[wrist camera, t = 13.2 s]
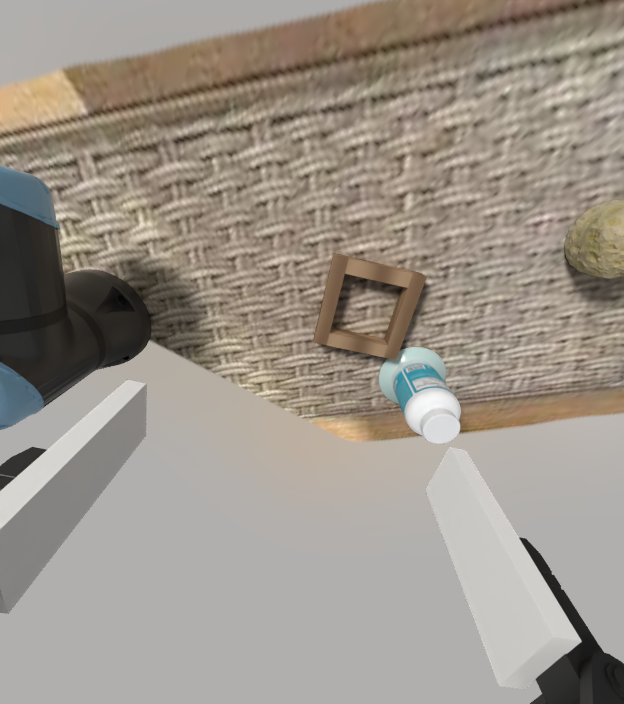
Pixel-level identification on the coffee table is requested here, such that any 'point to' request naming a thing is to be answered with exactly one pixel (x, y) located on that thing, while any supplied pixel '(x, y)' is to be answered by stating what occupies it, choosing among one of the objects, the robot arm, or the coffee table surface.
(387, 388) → the coaster
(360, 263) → the walnut frame
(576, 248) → the decorative object
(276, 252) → the coffee table surface
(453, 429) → the pill bottle
